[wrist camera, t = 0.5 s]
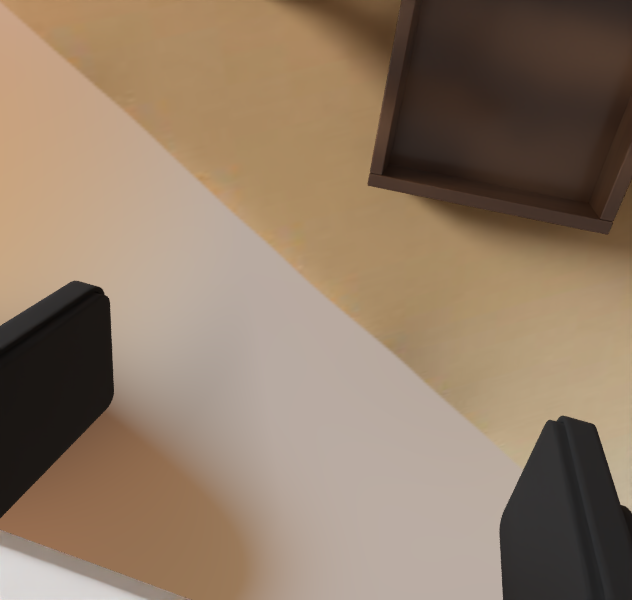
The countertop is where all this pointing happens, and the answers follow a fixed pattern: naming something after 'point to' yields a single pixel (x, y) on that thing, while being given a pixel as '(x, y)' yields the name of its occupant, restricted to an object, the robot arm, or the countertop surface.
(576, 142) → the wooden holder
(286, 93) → the countertop surface
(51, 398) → the robot arm
